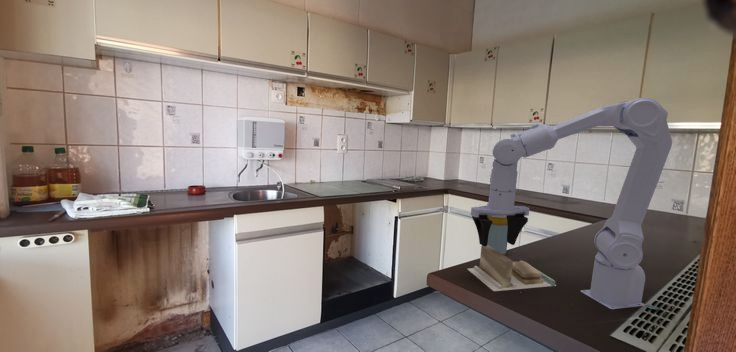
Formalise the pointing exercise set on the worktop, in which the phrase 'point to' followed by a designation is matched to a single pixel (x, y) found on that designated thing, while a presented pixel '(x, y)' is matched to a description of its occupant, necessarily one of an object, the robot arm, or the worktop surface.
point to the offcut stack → (526, 273)
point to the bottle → (498, 233)
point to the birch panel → (496, 265)
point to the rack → (514, 282)
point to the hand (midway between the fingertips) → (497, 244)
